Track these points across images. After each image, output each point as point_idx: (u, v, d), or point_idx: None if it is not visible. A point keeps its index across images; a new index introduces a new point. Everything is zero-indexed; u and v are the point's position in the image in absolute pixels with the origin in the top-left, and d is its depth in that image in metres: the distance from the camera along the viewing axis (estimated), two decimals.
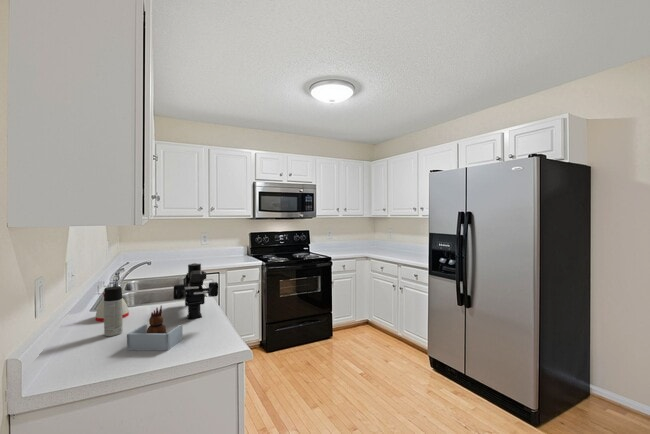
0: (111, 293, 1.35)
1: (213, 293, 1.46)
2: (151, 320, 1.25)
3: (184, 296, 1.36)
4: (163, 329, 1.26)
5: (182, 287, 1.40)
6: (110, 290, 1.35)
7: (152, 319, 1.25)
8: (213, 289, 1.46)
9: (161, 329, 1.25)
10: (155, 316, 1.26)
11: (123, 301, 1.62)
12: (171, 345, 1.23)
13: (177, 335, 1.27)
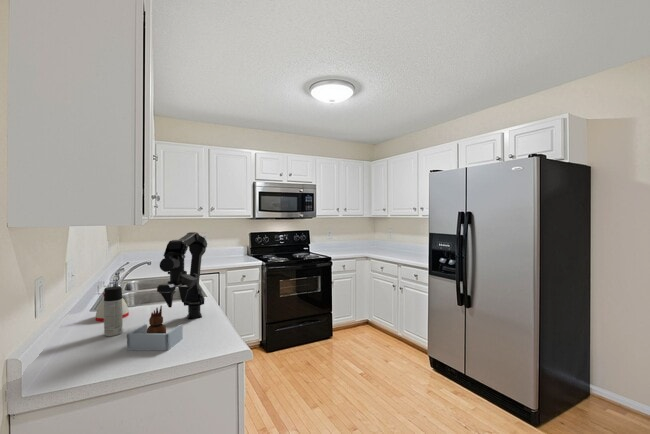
0: (111, 293, 1.35)
1: None
2: (151, 320, 1.25)
3: (168, 304, 1.35)
4: (163, 329, 1.26)
5: (173, 293, 1.34)
6: (110, 290, 1.35)
7: (152, 319, 1.25)
8: None
9: (161, 329, 1.25)
10: (155, 316, 1.26)
11: (123, 301, 1.62)
12: (171, 345, 1.23)
13: (177, 335, 1.27)
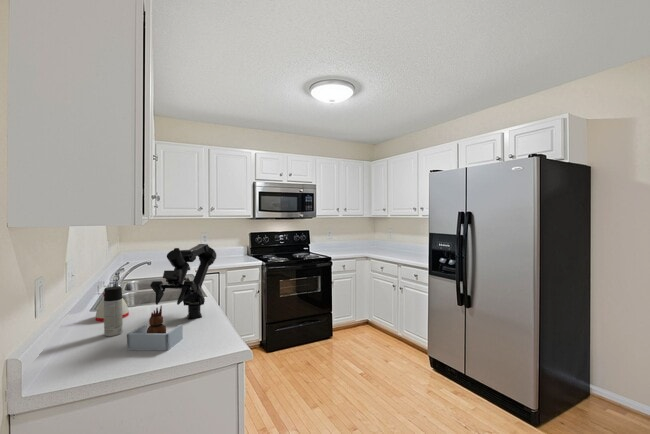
0: (111, 293, 1.35)
1: (189, 292, 1.40)
2: (151, 320, 1.25)
3: None
4: (163, 329, 1.26)
5: (156, 288, 1.37)
6: (110, 290, 1.35)
7: (152, 319, 1.25)
8: (188, 290, 1.39)
9: (161, 329, 1.25)
10: (155, 316, 1.26)
11: (123, 301, 1.62)
12: (171, 345, 1.23)
13: (177, 335, 1.27)
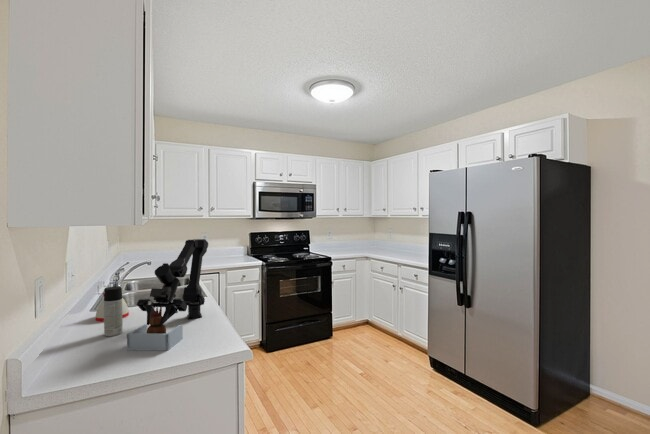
0: (111, 293, 1.35)
1: (174, 311, 1.31)
2: (151, 320, 1.25)
3: None
4: (163, 329, 1.26)
5: (148, 307, 1.28)
6: (110, 290, 1.35)
7: (152, 319, 1.25)
8: (172, 309, 1.29)
9: (161, 329, 1.25)
10: (155, 316, 1.26)
11: (123, 301, 1.62)
12: (171, 345, 1.23)
13: (177, 335, 1.27)
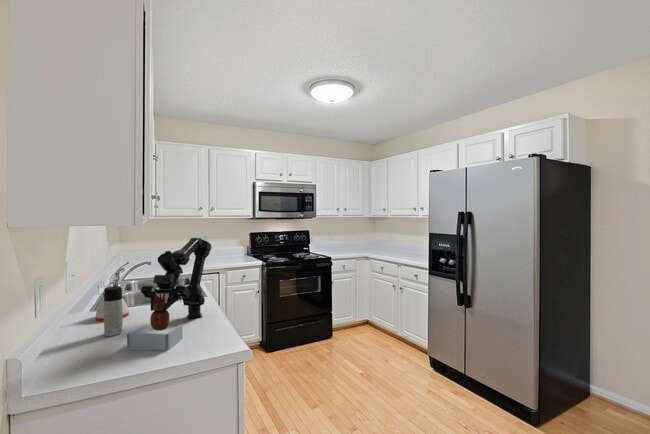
0: (111, 293, 1.35)
1: (177, 297, 1.33)
2: (155, 306, 1.27)
3: None
4: (167, 315, 1.29)
5: (151, 293, 1.31)
6: (110, 290, 1.35)
7: (156, 305, 1.27)
8: (175, 295, 1.32)
9: (165, 315, 1.28)
10: (159, 302, 1.28)
11: (123, 301, 1.62)
12: (171, 345, 1.23)
13: (177, 335, 1.27)
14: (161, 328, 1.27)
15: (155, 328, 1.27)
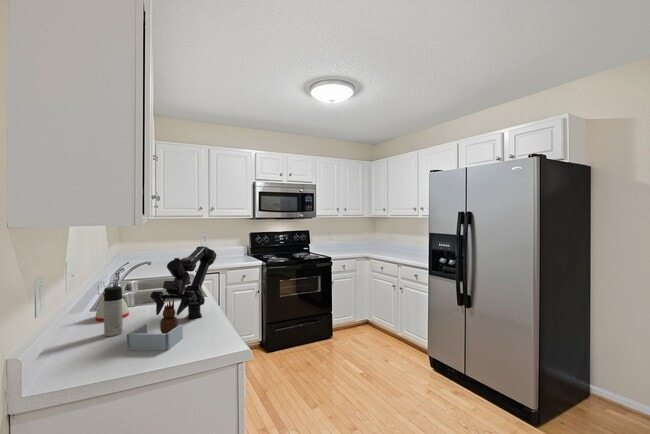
0: (111, 293, 1.35)
1: (189, 302, 1.40)
2: (164, 312, 1.34)
3: None
4: (175, 321, 1.35)
5: (157, 299, 1.37)
6: (110, 290, 1.35)
7: (165, 312, 1.34)
8: (187, 300, 1.38)
9: (174, 321, 1.35)
10: (168, 309, 1.35)
11: (123, 301, 1.62)
12: (171, 345, 1.23)
13: (177, 335, 1.27)
14: None
15: None
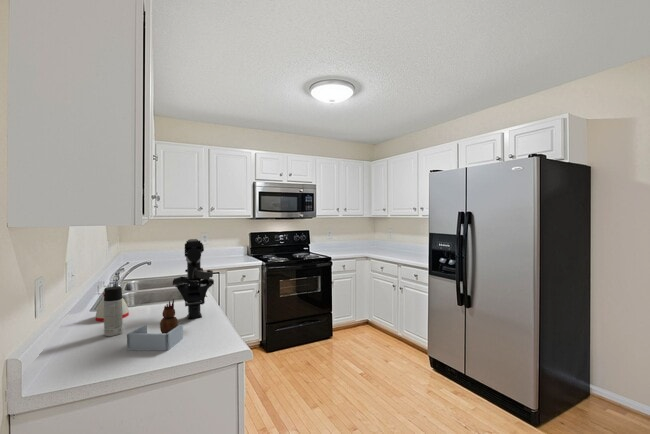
0: (111, 293, 1.35)
1: None
2: (164, 312, 1.34)
3: (184, 298, 1.39)
4: (175, 321, 1.35)
5: (187, 286, 1.39)
6: (110, 290, 1.35)
7: (165, 312, 1.34)
8: None
9: (174, 321, 1.35)
10: (168, 309, 1.35)
11: (123, 301, 1.62)
12: (171, 345, 1.23)
13: (177, 335, 1.27)
14: None
15: None
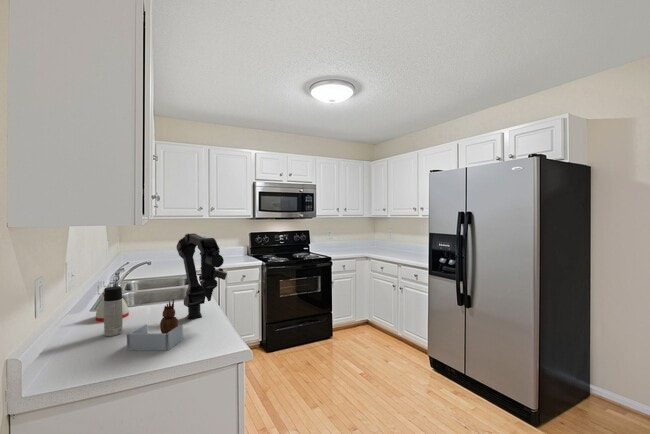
0: (111, 293, 1.35)
1: None
2: (164, 312, 1.34)
3: (208, 298, 1.44)
4: (175, 321, 1.35)
5: None
6: (110, 290, 1.35)
7: (165, 312, 1.34)
8: None
9: (174, 321, 1.35)
10: (168, 309, 1.35)
11: (123, 301, 1.62)
12: (171, 345, 1.23)
13: (177, 335, 1.27)
14: None
15: None
